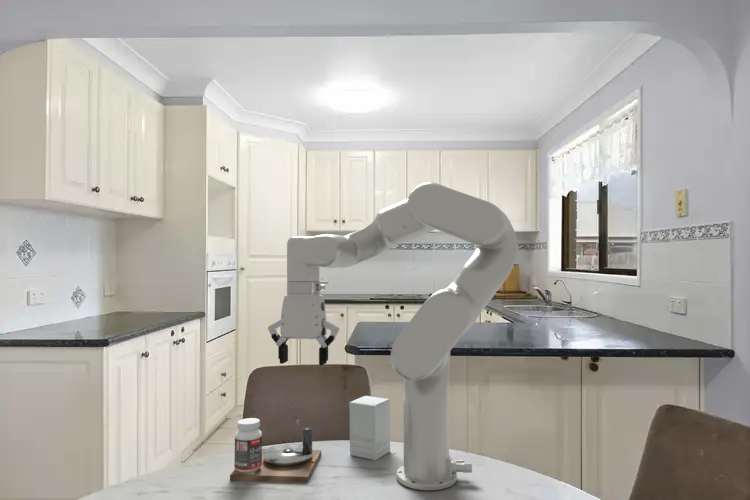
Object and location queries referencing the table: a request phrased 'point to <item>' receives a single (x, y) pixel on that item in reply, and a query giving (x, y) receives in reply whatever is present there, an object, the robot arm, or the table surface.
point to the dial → (291, 451)
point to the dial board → (280, 471)
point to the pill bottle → (248, 445)
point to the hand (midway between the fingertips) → (303, 363)
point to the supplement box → (369, 427)
